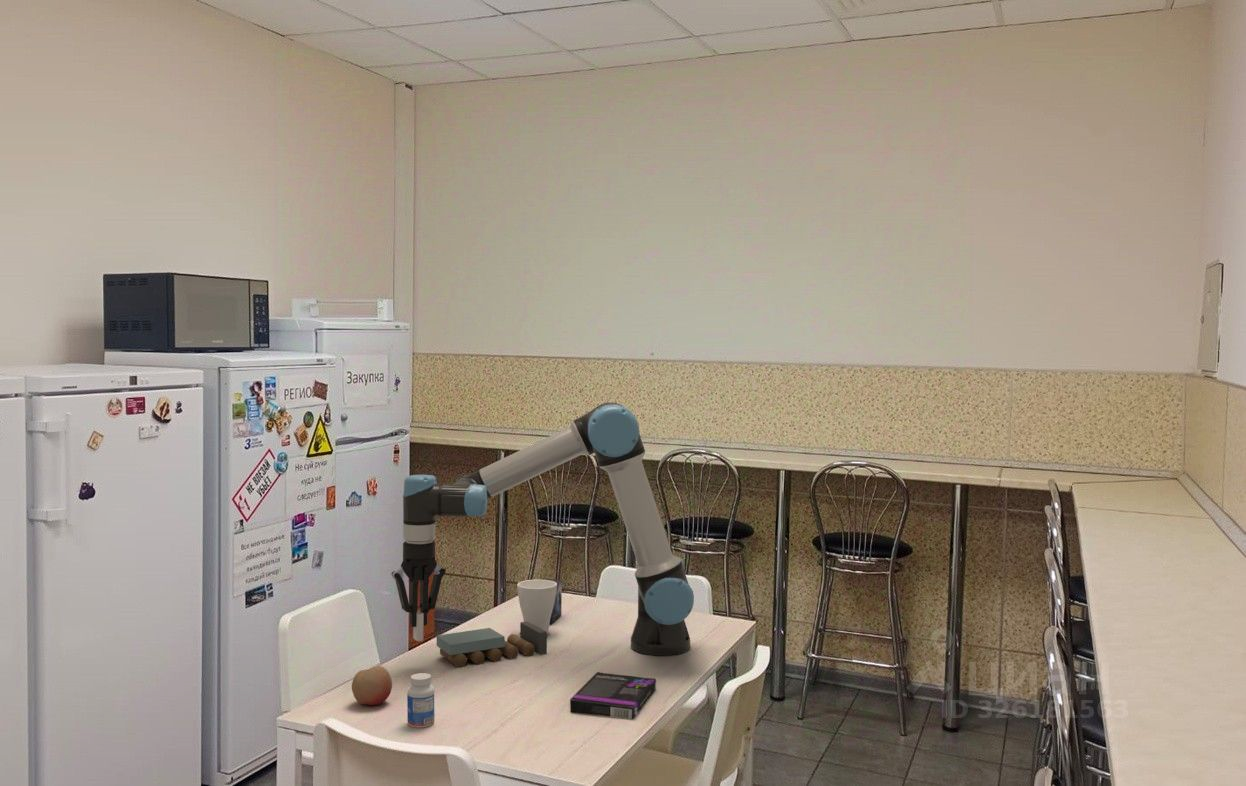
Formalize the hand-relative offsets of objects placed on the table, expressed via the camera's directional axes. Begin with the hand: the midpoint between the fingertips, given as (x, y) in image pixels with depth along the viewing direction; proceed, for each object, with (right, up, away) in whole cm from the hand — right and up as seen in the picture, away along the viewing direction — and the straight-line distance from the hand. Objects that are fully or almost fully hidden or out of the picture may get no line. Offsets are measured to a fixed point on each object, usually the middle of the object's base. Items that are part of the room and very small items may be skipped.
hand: (418, 639), depth 245 cm
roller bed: (+15, -6, +9) cm, 19 cm away
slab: (+11, -3, +7) cm, 14 cm away
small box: (+27, -5, +44) cm, 52 cm away
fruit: (-5, -8, -25) cm, 27 cm away
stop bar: (+26, -6, +16) cm, 31 cm away
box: (+47, -9, -22) cm, 52 cm away
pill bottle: (+8, -9, -36) cm, 38 cm away
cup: (+26, -6, +29) cm, 39 cm away
